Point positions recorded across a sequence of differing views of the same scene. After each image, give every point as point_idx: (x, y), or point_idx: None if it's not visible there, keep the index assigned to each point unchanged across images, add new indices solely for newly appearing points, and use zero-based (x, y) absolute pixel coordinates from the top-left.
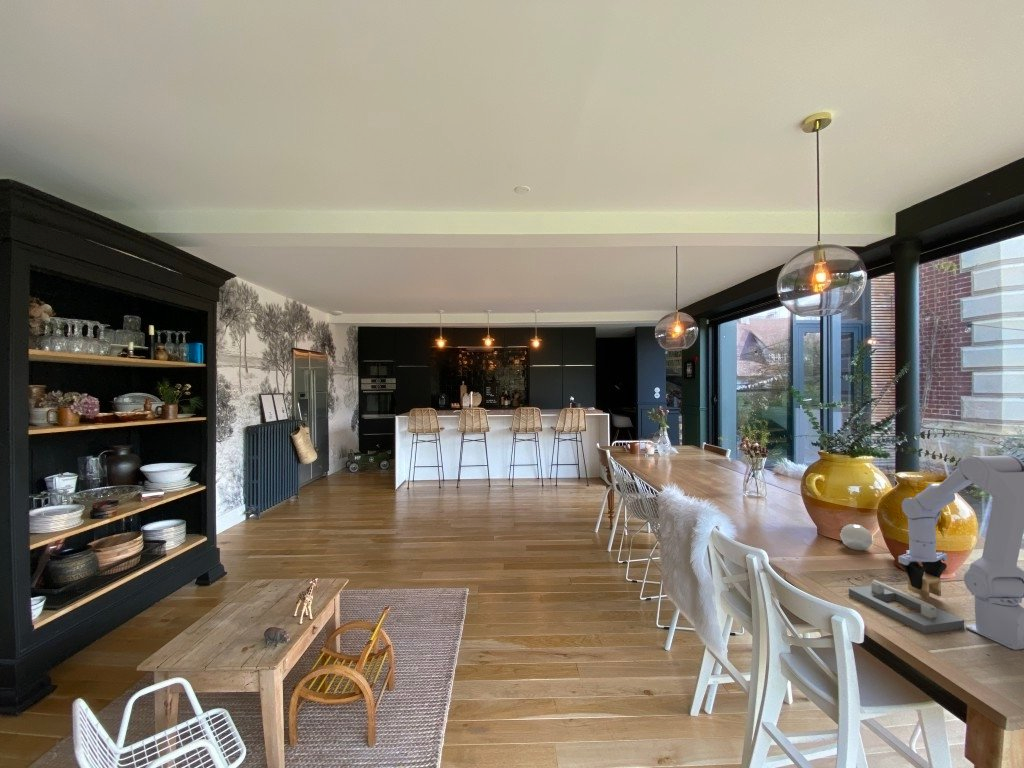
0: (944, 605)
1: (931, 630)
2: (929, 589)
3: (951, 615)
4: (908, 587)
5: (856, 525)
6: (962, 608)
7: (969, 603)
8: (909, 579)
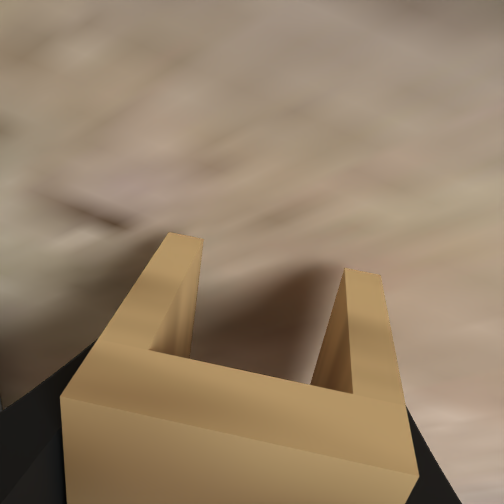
0: None
1: None
2: (315, 385)
3: None
4: (157, 252)
5: None
6: None
7: (465, 500)
8: (54, 374)
